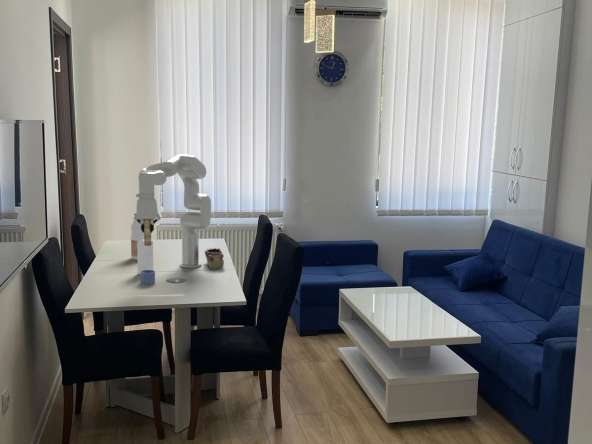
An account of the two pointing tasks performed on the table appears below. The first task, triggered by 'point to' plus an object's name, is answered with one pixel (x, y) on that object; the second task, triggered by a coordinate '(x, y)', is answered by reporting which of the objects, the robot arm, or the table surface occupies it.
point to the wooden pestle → (147, 232)
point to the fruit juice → (135, 237)
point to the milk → (144, 256)
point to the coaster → (176, 280)
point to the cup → (147, 277)
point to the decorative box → (214, 258)
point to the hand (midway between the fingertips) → (147, 231)
